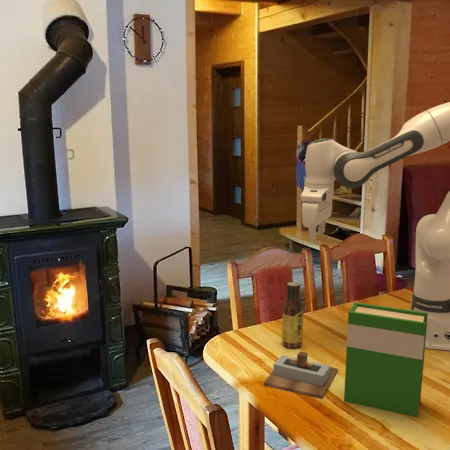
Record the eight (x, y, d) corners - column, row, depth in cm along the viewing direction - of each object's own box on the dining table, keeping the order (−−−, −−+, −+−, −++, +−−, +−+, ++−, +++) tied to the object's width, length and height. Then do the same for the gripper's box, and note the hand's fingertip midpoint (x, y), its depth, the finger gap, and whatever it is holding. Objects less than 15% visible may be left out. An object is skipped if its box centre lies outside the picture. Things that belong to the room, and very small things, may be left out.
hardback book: (420, 402, 137) (427, 312, 132) (417, 417, 130) (425, 323, 125) (349, 387, 144) (354, 302, 139) (343, 401, 137) (348, 312, 132)
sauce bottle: (301, 350, 166) (303, 288, 161) (280, 348, 167) (282, 286, 163) (302, 341, 172) (304, 281, 168) (283, 339, 173) (284, 280, 169)
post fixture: (337, 371, 153) (338, 347, 151) (322, 398, 139) (323, 372, 137) (283, 360, 159) (284, 337, 158) (263, 385, 145) (264, 360, 144)
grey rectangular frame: (273, 374, 149) (273, 364, 149) (282, 364, 155) (282, 355, 154) (322, 386, 143) (323, 376, 142) (329, 375, 148) (330, 365, 148)
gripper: (318, 186, 177) (316, 228, 180) (298, 196, 159) (297, 242, 162) (337, 188, 174) (335, 230, 177) (319, 197, 156) (318, 244, 159)
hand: (317, 235), depth 169 cm, fingers open, 8 cm apart
